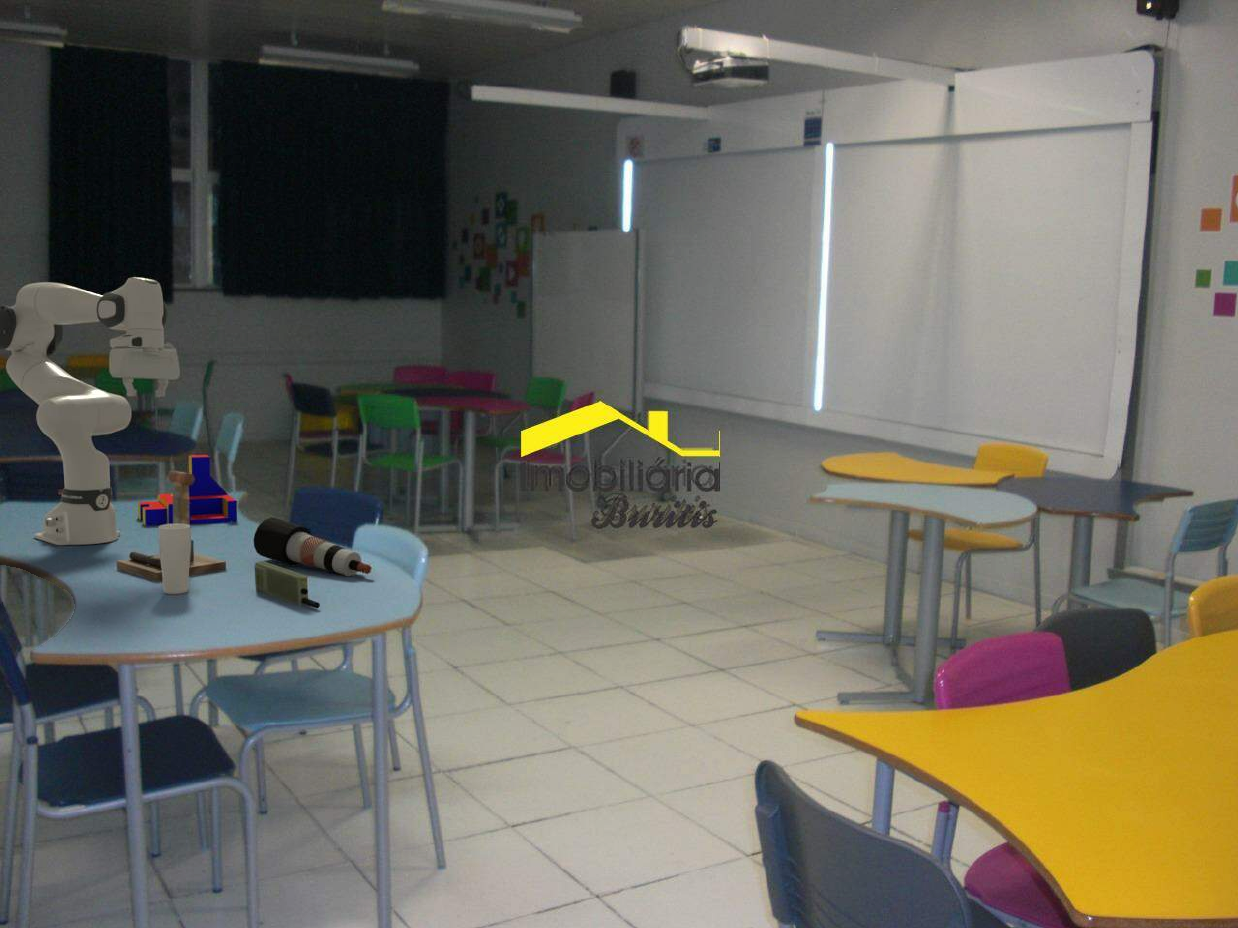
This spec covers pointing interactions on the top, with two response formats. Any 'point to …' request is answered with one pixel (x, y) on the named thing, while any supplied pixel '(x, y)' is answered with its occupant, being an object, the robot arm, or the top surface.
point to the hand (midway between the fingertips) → (146, 396)
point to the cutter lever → (181, 495)
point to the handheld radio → (283, 584)
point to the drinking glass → (175, 557)
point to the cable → (304, 548)
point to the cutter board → (157, 572)
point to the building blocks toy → (193, 500)
